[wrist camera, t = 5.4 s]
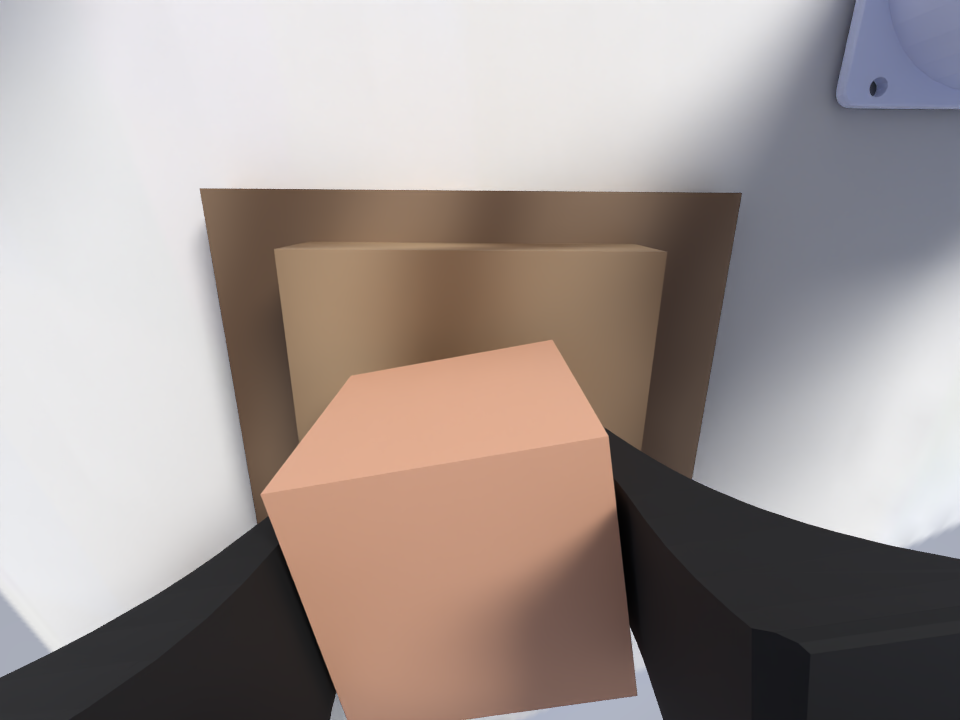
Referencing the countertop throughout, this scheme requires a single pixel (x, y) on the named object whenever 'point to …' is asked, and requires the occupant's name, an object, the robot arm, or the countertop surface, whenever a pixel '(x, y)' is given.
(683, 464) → the base
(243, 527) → the countertop surface
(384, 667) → the cube
